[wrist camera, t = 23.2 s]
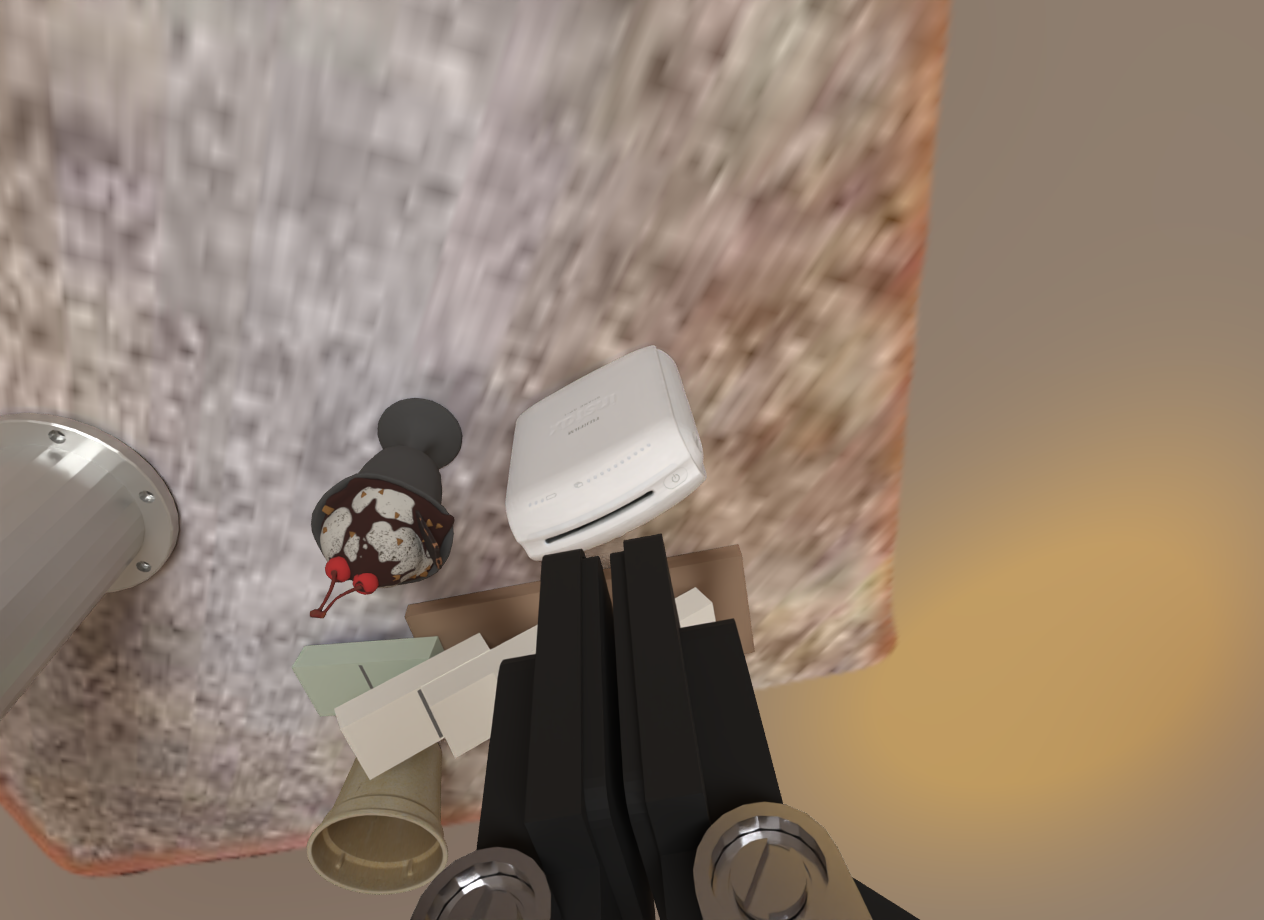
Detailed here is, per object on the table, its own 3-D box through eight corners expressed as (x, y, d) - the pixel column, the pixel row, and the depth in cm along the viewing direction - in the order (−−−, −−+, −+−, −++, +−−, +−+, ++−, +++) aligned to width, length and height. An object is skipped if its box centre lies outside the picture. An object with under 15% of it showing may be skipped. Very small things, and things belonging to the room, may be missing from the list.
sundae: (343, 449, 45) (249, 622, 32) (395, 363, 42) (315, 514, 30) (442, 499, 47) (391, 680, 34) (496, 421, 45) (463, 584, 32)
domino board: (448, 694, 56) (445, 706, 55) (408, 604, 51) (404, 616, 50) (751, 639, 55) (754, 651, 54) (738, 544, 50) (741, 555, 49)
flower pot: (417, 692, 56) (393, 796, 48) (486, 763, 60) (473, 868, 53) (315, 736, 57) (276, 843, 50) (389, 802, 62) (363, 908, 55)
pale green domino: (459, 686, 54) (331, 694, 55) (438, 636, 51) (304, 645, 53) (451, 709, 52) (319, 716, 54) (428, 658, 49) (291, 667, 51)
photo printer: (659, 330, 42) (687, 434, 32) (692, 389, 44) (728, 506, 34) (506, 411, 44) (483, 534, 34) (544, 464, 46) (534, 597, 36)
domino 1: (499, 683, 53) (362, 758, 50) (479, 632, 51) (333, 708, 47) (510, 700, 52) (369, 780, 48) (490, 649, 49) (340, 729, 46)
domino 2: (575, 663, 54) (445, 738, 50) (559, 612, 51) (421, 686, 48) (588, 680, 52) (455, 758, 48) (572, 628, 49) (430, 706, 46)
